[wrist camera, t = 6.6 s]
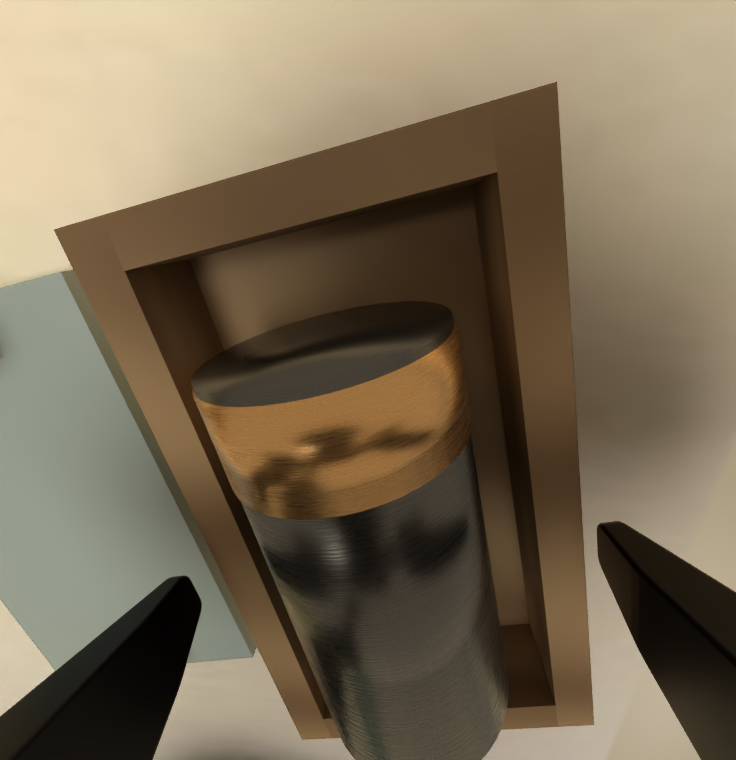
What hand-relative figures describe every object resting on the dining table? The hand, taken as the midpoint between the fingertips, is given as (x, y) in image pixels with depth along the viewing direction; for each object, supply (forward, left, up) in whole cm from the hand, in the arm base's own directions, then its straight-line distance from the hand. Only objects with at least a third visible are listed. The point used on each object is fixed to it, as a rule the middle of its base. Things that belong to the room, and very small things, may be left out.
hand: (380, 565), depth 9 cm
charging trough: (0, 0, -4) cm, 4 cm away
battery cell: (0, 0, -4) cm, 4 cm away
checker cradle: (0, +11, -4) cm, 12 cm away
